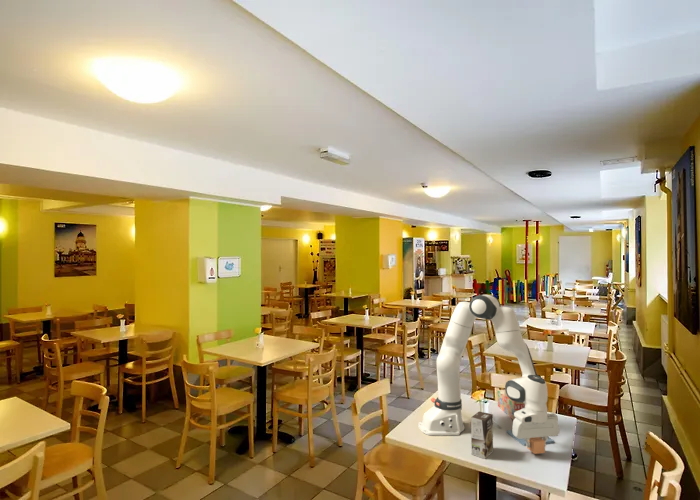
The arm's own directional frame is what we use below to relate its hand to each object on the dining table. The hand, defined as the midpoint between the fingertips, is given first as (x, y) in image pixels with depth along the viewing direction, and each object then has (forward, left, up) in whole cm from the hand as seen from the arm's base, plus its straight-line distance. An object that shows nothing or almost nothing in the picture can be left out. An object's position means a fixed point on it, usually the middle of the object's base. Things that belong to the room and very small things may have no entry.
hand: (535, 446), depth 173 cm
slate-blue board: (+7, +14, -3) cm, 16 cm away
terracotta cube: (0, 0, -2) cm, 2 cm away
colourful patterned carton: (+15, +42, -3) cm, 45 cm away
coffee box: (-22, +5, -3) cm, 23 cm away
